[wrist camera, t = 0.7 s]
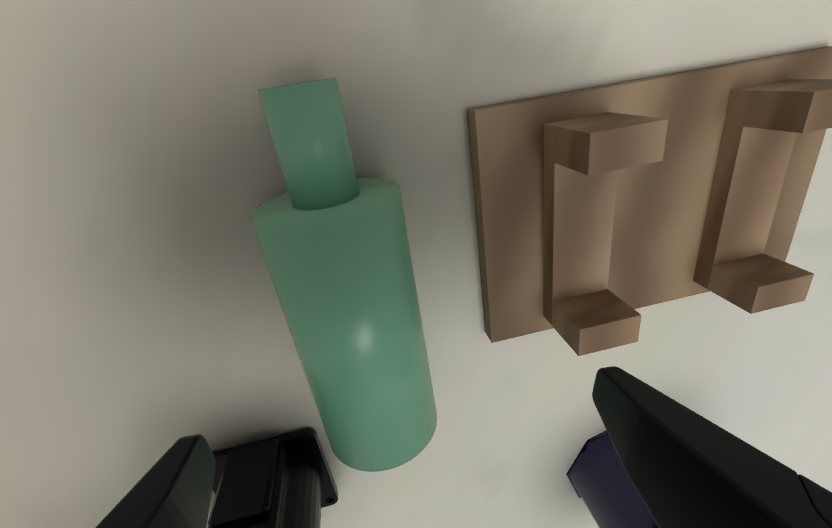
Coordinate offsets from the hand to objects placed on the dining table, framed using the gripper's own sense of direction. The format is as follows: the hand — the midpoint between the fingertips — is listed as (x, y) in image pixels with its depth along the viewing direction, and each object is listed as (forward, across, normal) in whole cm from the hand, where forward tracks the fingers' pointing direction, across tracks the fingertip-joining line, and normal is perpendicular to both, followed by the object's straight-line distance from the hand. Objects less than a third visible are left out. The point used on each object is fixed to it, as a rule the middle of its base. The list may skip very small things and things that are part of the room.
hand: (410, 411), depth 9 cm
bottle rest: (+12, -14, +1) cm, 18 cm away
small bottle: (+11, +2, +2) cm, 11 cm away
